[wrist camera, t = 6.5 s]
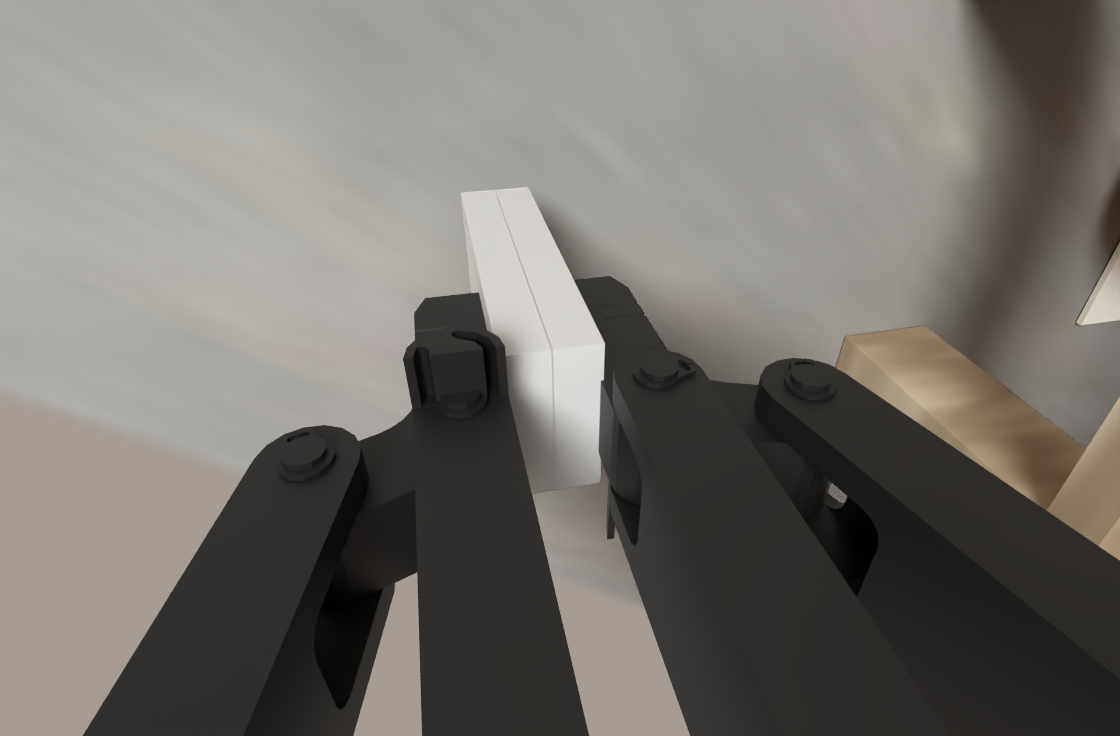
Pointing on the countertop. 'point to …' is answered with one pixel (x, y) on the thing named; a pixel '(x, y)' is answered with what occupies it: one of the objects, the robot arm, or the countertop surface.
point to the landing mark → (1104, 295)
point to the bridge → (995, 427)
